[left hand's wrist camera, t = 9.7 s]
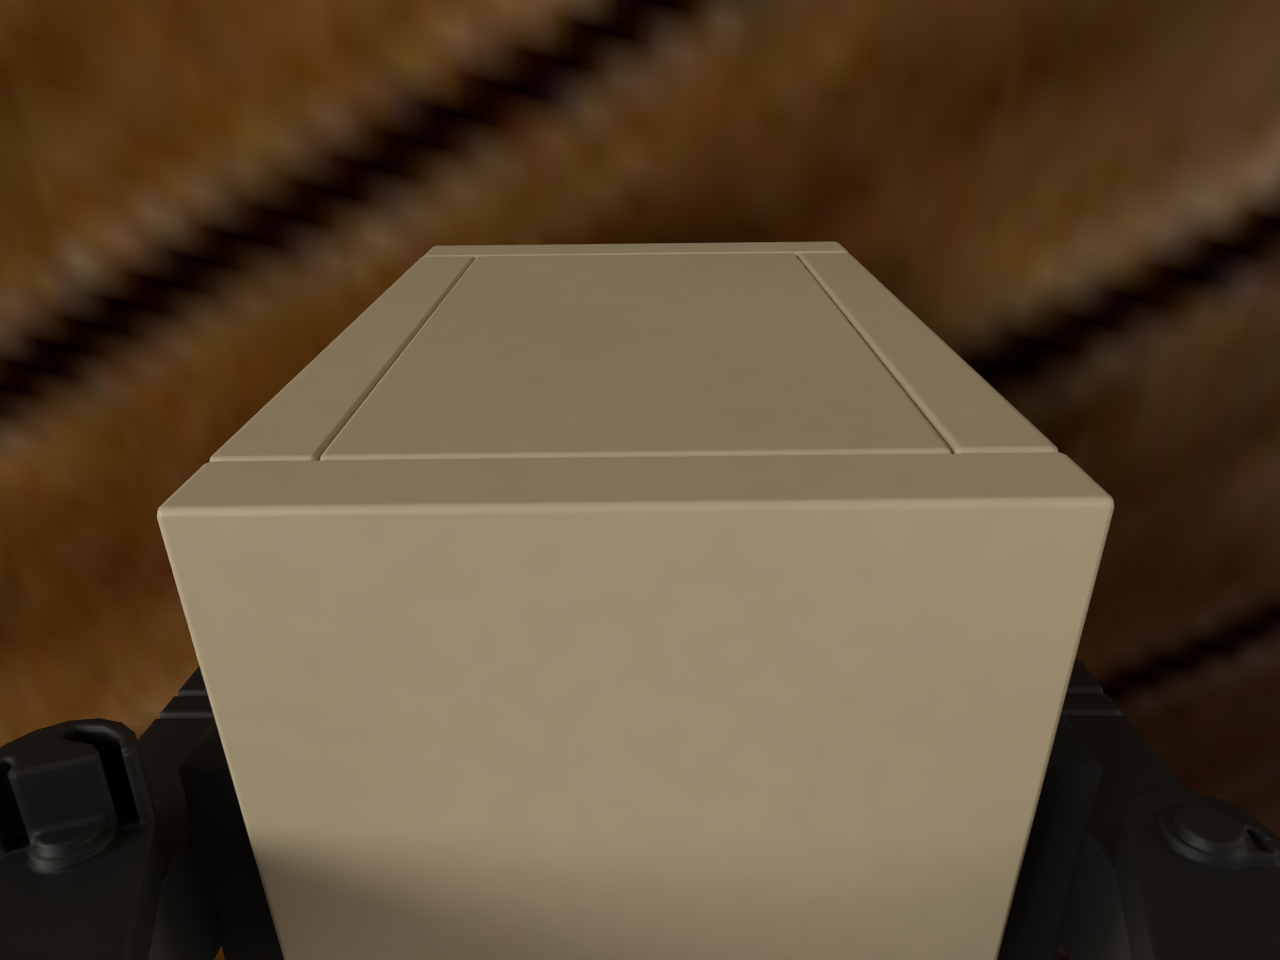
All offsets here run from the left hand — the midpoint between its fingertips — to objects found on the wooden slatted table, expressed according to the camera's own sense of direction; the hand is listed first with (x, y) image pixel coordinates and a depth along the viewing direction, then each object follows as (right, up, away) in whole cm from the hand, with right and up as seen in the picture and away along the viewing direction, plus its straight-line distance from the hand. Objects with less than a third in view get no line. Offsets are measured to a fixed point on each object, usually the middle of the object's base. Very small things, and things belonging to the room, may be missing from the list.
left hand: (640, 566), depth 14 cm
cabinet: (0, -4, +5) cm, 6 cm away
